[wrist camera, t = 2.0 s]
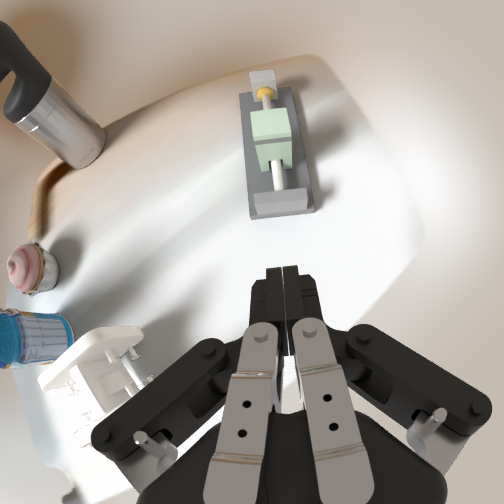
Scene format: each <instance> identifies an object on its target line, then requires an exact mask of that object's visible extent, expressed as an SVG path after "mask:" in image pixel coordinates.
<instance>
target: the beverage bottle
mask: <svg viewBox="0 0 504 504" xmlns="http://www.w3.org/2000/svg"><path fill="white" fill-rule="evenodd" d="M74 343H75V340H74V334H73V330H72V327H71V325H70V323H69V322H68V321H67V319H66V318H65V317H63V316H62V315H60V314H43V313H32V312H23V311H19V310H17V309H6V310H3V309H1V308H0V368H2V369H7V368H9V367H12V368H15V369H21V368H24V367H27V366H36V365H44V364H52V363H53V362H55V361H56V360H57V359H58V358H59V357H60V356H61V355H62V354H63V353H64V352H65V351H66V350H67V349H68V348H69V347H71V346H72V345H73V344H74Z"/></svg>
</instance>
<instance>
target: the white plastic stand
mask: <svg viewBox="0 0 504 504" xmlns="http://www.w3.org/2000/svg"><path fill="white" fill-rule="evenodd" d="M143 337H144V334H143V333H142V331H141V329H140V328H139V326H124V327H99V328H95V329H93V330H91V331H89V332H87V333H86V334H84V335H83V336H82V337H80V338H79V339H78V340H77V341H76V342H75V343H74V344H73V345H72V346H71V347H69V348H68V349H67V350H66V351H65V352H64V353H63V354H62V355H61V356H60V357H59V358H58V359H57V360H56V361H55V362H53V363H52V364H51V365H50V366H49V367H48V368H47V369H46V370H45V371H44V372H43V373H42V374H41V375H40V376H39V378H38V381H39V383H40V385H41V388H42V389H43V390H51V389H56V388H61V387H65V386H68V388H69V390H70V392H71V393H72V394H70V395H71V396H75V395H78V394H79V393H80V392H81V393H82V395H83V397H84V398H85V400H86V402H87V403H88V405H89V407H90V408H91V410H92V412H93V413H94V415H95V416H96V418H97V419H96V420H95V421H92V420H91V418H90V417H89V415H88V413H90V411H88V412H85V413H84V414H82V415H83V417H84V418H85V420H86V422H87V423H88V425H86V426H85V427H83V428H81V429H80V430H78V431H77V432H75V433H74V434H73V435H72V436H71V437H72V439H73V440H74V442H75V443H76V445H77V446H78V448H83V447H86V446H87V448H88V449H90V448H92V447H93V446H92V444H91V439H90V437H91V432H92V430H93V428H94V427H95V426H96V425H97V424H98V423H100V422H101V421H102V420H104V419H105V418H106V417H107V416H109V415H110V414H111V413H113V412H114V411H115V410H116V409H118V408H119V407H120V406H122V405H123V404H124V403H125V402H127V401H128V400H129V399H130V398H132V397H133V396H134V395H135V394H137V393H138V392H139V391H140V389H139V388H138V386H137V385H136V383H135V382H134V380H133V379H132V377H131V376H130V374H129V372H128V371H127V369H126V368H125V366H124V364H123V363H122V361H121V359H120V358H119V357H121V356H122V355H123V354H125V353H126V352H127V351H129V352H130V354H131V355H132V357H133V358H132V359H130V360H131V361H132V360H135V359H137V358H139V356H141V355H139V356H138V355H137V353H136V352H135V350H134V349H133V347H134V346H135V345H136V344H138V343H139V342H140V341H141V340H142V339H143ZM154 375H155V374H154ZM152 376H153V375H151V376H148V377H147V378H146V379H144V380H148V382H149V383H150V382H152V381H153V378H152ZM74 384H77V386H78V388H79V391H76V390H75V388H74V386H73V385H74ZM82 415H80V416H82Z"/></svg>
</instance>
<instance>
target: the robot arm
mask: <svg viewBox="0 0 504 504" xmlns="http://www.w3.org/2000/svg"><path fill="white" fill-rule="evenodd" d="M11 70H12V71H14V73H15V74H16V79H15V82H14V84H13V87H12V89H11V91H10V93H9V95H8V97H7V99H6V102H5V104H4V109H3V113H4V115H5V117H6V118H8V119H9V120H10V121H11V122H12V123H14V124H15V125H16V126H18V127H19V128H20V129H21V130H23V131H24V132H26V133H27V134H28V135H29V136H31V137H32V138H33V139H35V140H36V141H37V142H39V143H40V144H41V145H43V146H44V147H45V148H47V149H48V150H49V151H51V152H52V153H54V154H55V155H56V156H57V157H59V158H60V159H61V160H63V161H64V162H66V163H67V164H68V165H70V166H71V167H73V168H74V169H81V168H84V167H86V166H88V165H89V164H90V163H92V162H93V161H94V160H95V159H96V158H97V156H98V155H99V154H100V152H101V150H102V149H103V146H104V144H105V140H106V134H105V131H104V130H103V129H102V128H101V127H100V126H99V125H98V124H97V123H96V122H95V121H94V120H93V118H91V116H90V115H89V114H88V113H87V112H86V111H85V110H84V109H83V108H82V107H81V106H80V105H79V104H78V103H77V102H76V101H75V100H74V99H73V98H72V97H71V96H70V95H69V93H68V92H67V91H66V90H65V89H64V88H63V87H62V86H61V85H60V84H59V83H58V82H57V81H56V80H55V79H54V78H53V77H52V76H51V75H50V74H49V73H48V72H47V71H46V69H45V68H44V67H43V66H42V65H41V64H40V63H39V62H38V60H37V59H36V58H35V57H34V56H33V55H32V54H31V53H30V51H28V49H27V48H26V46H25V45H24V44H23V43H22V41H21V40H20V39H19V37H18V36H17V35H16V33H15V32H14V31H13V30H12V29H11V28H10V27H9V26H8V25H7V24H6V23H4V22H2V21H0V82H1V81H2V80H3V79H4V78H5V76H6V75H7V74H8V73H9V72H10V71H11ZM283 281H284V285H283ZM287 332H288V337H287ZM288 341H289V350H290V356H292V355H294V359H295V370H296V377H297V383H298V389H299V396H300V402H301V409H302V410H301V411H298V412H295V413H292V414H282V413H281V401H282V387H283V368H284V356H289V354H288ZM348 387H350V388H351V389H352V390H354V391H355V392H356V393H358V394H359V395H360V396H362V397H363V398H364V399H366V400H367V401H368V402H370V403H371V404H372V405H374V406H375V407H376V408H378V409H379V410H381V411H382V412H384V413H385V414H386V415H388V416H389V417H390V418H392V419H393V420H395V421H396V422H397V423H399V424H400V425H402V426H403V427H404V428H406V429H407V435H406V437H407V442H408V444H409V445H410V446H411V447H412V448H413V449H414V451H415V452H414V451H412V450H411V449H409V448H408V447H407V446H406V445H404V444H403V443H402V442H401V441H399V440H398V439H397V438H395V437H394V436H393V435H392V434H390V433H389V432H388V431H387V430H385V429H384V428H383V427H381V426H380V425H379V424H378V423H377V422H375V421H374V420H373V419H372V418H370V417H369V416H367V415H365V414H363V413H361V412H358V411H355V410H354V408H353V405H352V401H351V397H350V394H349V390H348ZM224 405H225V407H224V412H223V417H222V422H220V423H218V424H217V425H215V426H213V427H212V428H211V429H210V430H208V431H207V432H206V433H205V434H204V435H203V436H202V437H201V438H200V439H199V440H198V441H197V442H196V443H195V444H194V445H193V446H192V447H191V448H190V449H189V450H188V451H187V452H186V453H185V454H183V455H182V456H181V457H180V458H179V459H178V460H177V461H176V459H177V456H178V451H177V447H178V446H180V445H181V444H182V443H183V442H184V441H185V440H187V439H188V438H189V437H190V436H191V435H192V434H193V433H194V432H196V431H197V430H198V429H199V428H200V427H201V426H202V425H203V424H204V423H205V422H207V421H208V420H209V419H210V418H211V417H212V416H213V415H214V414H215V413H216V412H217V411H218V410H219V409H220V408H221V407H222V406H224ZM491 413H492V404H491V401H490V399H489V398H488V397H487V396H486V395H485V394H483V393H482V392H480V391H478V390H477V389H475V388H474V387H472V386H470V385H469V384H467V383H465V382H464V381H462V380H461V379H459V378H457V377H455V376H454V375H452V374H451V373H449V372H447V371H445V370H444V369H442V368H441V367H439V366H438V365H436V364H434V363H433V362H431V361H429V360H428V359H426V358H424V357H423V356H421V355H420V354H418V353H416V352H415V351H413V350H411V349H410V348H408V347H406V346H405V345H403V344H402V343H400V342H398V341H397V340H395V339H393V338H392V337H390V336H388V335H387V334H385V333H384V332H382V331H380V330H379V329H377V328H375V327H373V326H371V325H368V324H359V325H356V326H354V327H352V328H351V329H350V330H349V331H348V332H347V331H339V330H335V329H332V328H330V327H329V326H328V325H326V323H325V322H324V320H323V317H322V312H321V307H320V302H319V297H318V292H317V287H316V283H315V280H314V279H313V278H312V277H311V276H310V275H309V274H308V275H299V273H298V266H297V265H294V266H285V267H283V277H282V269H281V267H277V268H267V269H266V279H262V280H256V282H255V283H254V285H253V286H252V290H251V304H250V318H249V327H248V328H247V329H246V331H245V332H244V335H243V336H242V337H241V338H239V339H237V340H235V341H232V342H229V343H226V344H224V343H223V342H222V341H221V340H219V339H215V338H208V339H204V340H202V341H200V342H199V343H197V344H196V345H195V346H194V347H193V348H191V349H190V350H189V351H188V352H187V353H185V354H184V355H183V356H182V357H181V358H179V359H178V360H177V361H176V362H175V363H173V364H172V365H171V366H170V367H169V368H167V369H166V370H165V371H164V372H163V373H161V374H160V375H159V376H158V377H156V378H155V379H154V380H153V381H152V382H150V383H149V384H148V385H147V386H145V387H144V388H143V389H142V390H140V391H139V392H138V393H137V394H135V395H134V396H133V397H132V398H130V399H129V400H128V401H127V402H125V403H124V404H123V405H122V406H120V407H119V408H118V409H116V410H115V411H114V412H113V413H111V414H110V415H109V416H107V417H106V418H105V419H104V420H102V421H101V422H100V423H98V424H97V425H96V426H95V427H94V428H93V430H92V432H91V437H90V439H91V444H92V446H93V447H94V448H95V449H96V450H97V451H99V452H100V453H102V454H103V455H105V456H106V457H107V458H108V459H110V460H112V461H113V462H115V464H116V465H117V466H118V468H119V469H120V470H121V472H122V473H123V474H124V476H125V477H126V478H127V479H128V481H129V482H130V483H131V484H132V486H133V487H134V488H135V489H136V490H137V492H138V493H139V494H140V495H139V497H138V500H137V503H136V504H445V502H446V499H447V491H448V490H447V483H446V480H445V478H444V475H445V474H446V472H447V471H448V470H449V468H450V467H451V465H452V464H453V462H454V461H455V459H456V458H457V456H458V455H459V453H460V452H461V450H462V448H463V447H464V445H465V444H466V442H467V440H468V439H469V437H470V436H471V435H473V434H474V433H475V432H476V431H477V430H478V429H479V428H481V427H482V426H483V425H484V424H485V423H486V422H487V421H488V420H489V418H490V416H491ZM175 461H176V462H175Z"/></svg>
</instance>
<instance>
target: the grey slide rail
mask: <svg viewBox="0 0 504 504" xmlns="http://www.w3.org/2000/svg"><path fill="white" fill-rule="evenodd" d="M249 77H250V84H251V88H252V92H247V93H240V94H239V98H240V109H241V121H242V132H243V144H244V155H245V166H246V178H247V189H248V201H249V212H250V218H251V220H255V219H263V218H271V217H280V216H288V215H297V214H306V213H314V210H315V207H314V201H313V195H312V189H311V184H310V178H309V173H308V168H307V163H306V158H305V153H304V148H303V143H302V138H301V133H300V129H299V124H298V120H297V115H296V111H295V107H294V103H293V98H292V94H291V90H290V87H287V88H277V85H276V78H275V73H274V69H270V70H262V71H254V72H249ZM277 108H286V109H287V114H288V119H289V124H290V129H291V135H292V169H284V168H283V161H282V159H280V160H272V161H269V169H270V171H266V172H261V169H260V164H259V160H258V156H257V152H256V148H255V146H254V141H253V133H252V124H251V115H250V112H254V111H261V110H269V109H277Z"/></svg>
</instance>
